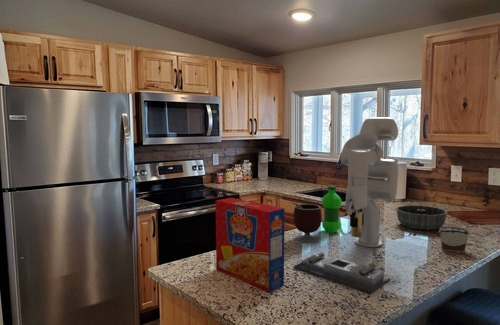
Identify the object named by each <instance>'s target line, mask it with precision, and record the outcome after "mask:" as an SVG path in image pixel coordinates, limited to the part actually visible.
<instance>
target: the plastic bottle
mask: <svg viewBox="0 0 500 325" xmlns="http://www.w3.org/2000/svg"><path fill="white" fill-rule="evenodd" d="M327 190H328V192H327V193H326V194H325V195H324V196H322V198H321V204H322V206H323V220H322V221H321V226H322V228H323V229H324V230H325V231H326V233H328V234H330V233H331V234H335V233H336V232H338V231H339V230H340V229H341V225H342V224H341V222H340V207H342V204H343V203H342V202H343V201H342V198H341V197H340V196H339V195H338V194H337V193H336V190H337V186H336V185H328V186H327Z"/></svg>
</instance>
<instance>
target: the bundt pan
mask: <svg viewBox="0 0 500 325" xmlns="http://www.w3.org/2000/svg"><path fill="white" fill-rule="evenodd" d="M395 210H396V213H397V214H396V215H397V220H398V222H399V223H400V224H401V225H402V226H404V227H406V228H408V229H413V230H417V229H418V230H420V231H422V230H425V231H430V230H431V231H435V230H438V229H439V230H440V228H441V227H443V226H444V225H445V224H446V223H445V222H446V217H447V214H448V211H447V210H445V209H443V208H440V207H436V206H435V207H434V206H428V205H416V204H415V205H414V204H413V205H411V204H409V205H399V206H397V207H396V208H395Z"/></svg>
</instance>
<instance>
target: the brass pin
mask: <svg viewBox="0 0 500 325" xmlns="http://www.w3.org/2000/svg"><path fill="white" fill-rule="evenodd" d="M353 212H354V213H355V211H353ZM357 218H358V227H357V228H355V227H351V237H353V238H358V237H361V236H362V211H358V213H357Z"/></svg>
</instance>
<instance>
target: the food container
mask: <svg viewBox="0 0 500 325" xmlns="http://www.w3.org/2000/svg"><path fill="white" fill-rule="evenodd" d="M438 233H440V244H441V245H440V246H441V251H450V252H452V251H453V252H462V253H463V252H464V253H465V252H466V247H467V241H468V236H470V232H469V229H466V228H463V227H458V226H454V225H452V226H449V225H448V226H447V225H446V226H444V225H443V226H442V227H441V228H439V231H438Z"/></svg>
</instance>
